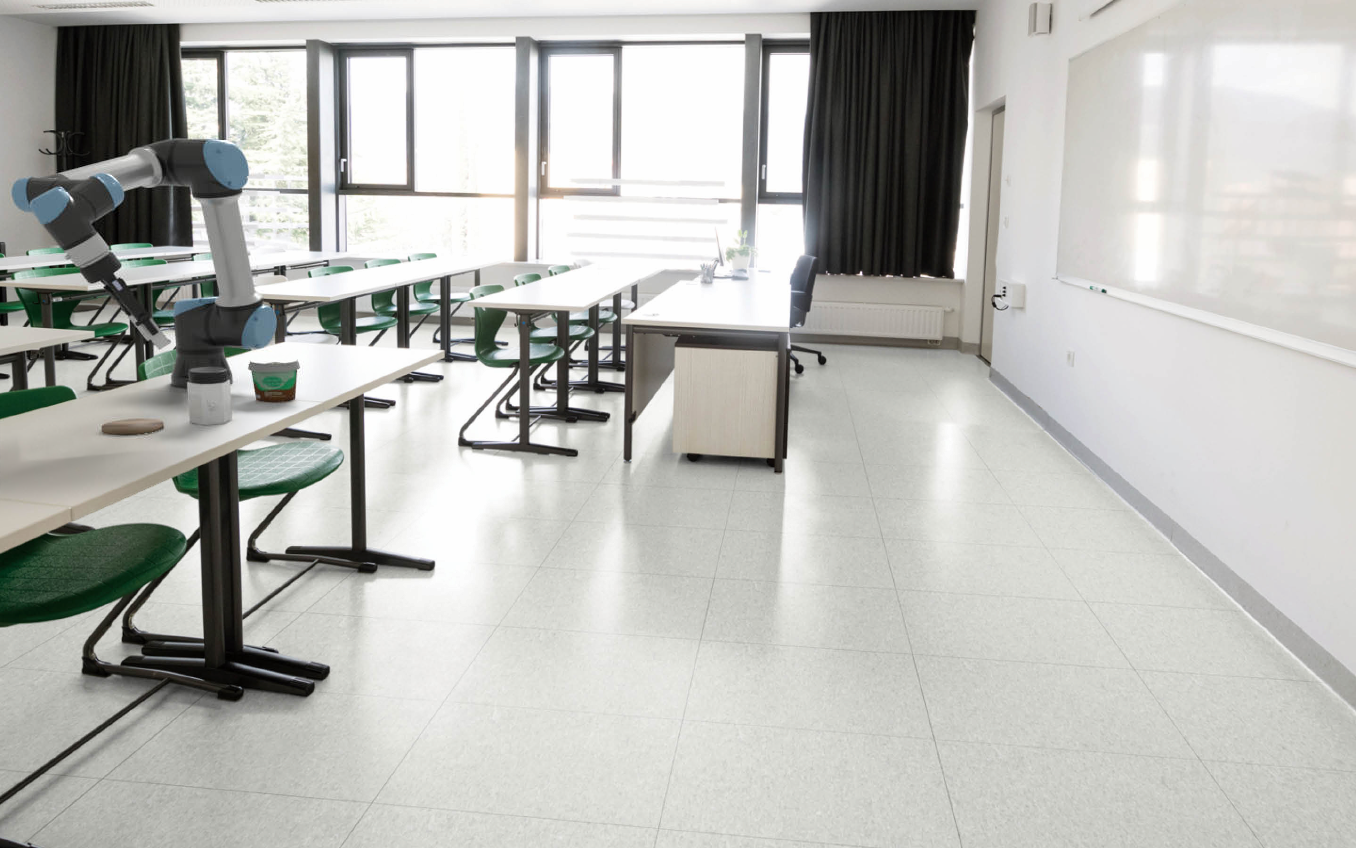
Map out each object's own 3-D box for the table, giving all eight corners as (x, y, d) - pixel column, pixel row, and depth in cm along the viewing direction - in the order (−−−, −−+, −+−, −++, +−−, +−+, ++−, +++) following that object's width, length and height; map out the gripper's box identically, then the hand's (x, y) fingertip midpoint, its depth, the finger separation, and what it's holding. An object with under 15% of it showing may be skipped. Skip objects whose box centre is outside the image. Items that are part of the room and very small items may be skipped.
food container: (252, 404, 251) (249, 364, 248) (249, 400, 256) (247, 361, 254) (304, 402, 256) (302, 363, 254) (301, 397, 262) (299, 359, 259)
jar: (192, 426, 226) (189, 373, 223) (187, 419, 233) (183, 367, 230) (235, 423, 231) (232, 371, 228) (228, 416, 237) (225, 365, 235)
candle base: (100, 425, 223) (99, 421, 223) (160, 421, 230) (160, 416, 230) (103, 437, 214) (103, 432, 213) (167, 432, 220) (166, 427, 220)
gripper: (70, 263, 221) (133, 343, 232) (85, 274, 202) (153, 360, 212) (101, 245, 224) (162, 325, 235) (120, 254, 205) (185, 340, 215)
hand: (158, 341), depth 223 cm, fingers open, 13 cm apart
